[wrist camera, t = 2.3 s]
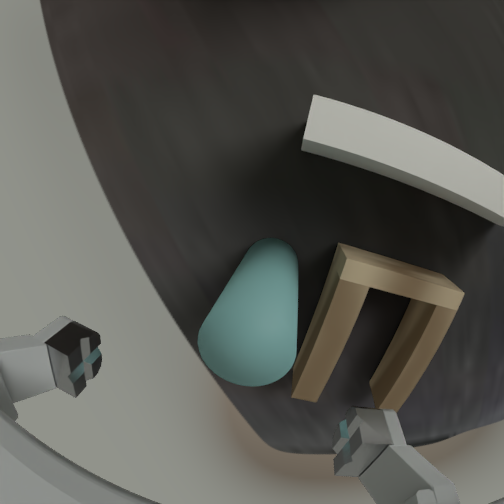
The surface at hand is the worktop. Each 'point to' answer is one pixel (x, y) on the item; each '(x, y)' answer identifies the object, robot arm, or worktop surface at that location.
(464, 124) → the worktop surface
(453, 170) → the backstop wall
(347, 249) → the channel block
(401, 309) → the worktop surface
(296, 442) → the worktop surface
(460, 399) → the worktop surface
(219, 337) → the dowel
